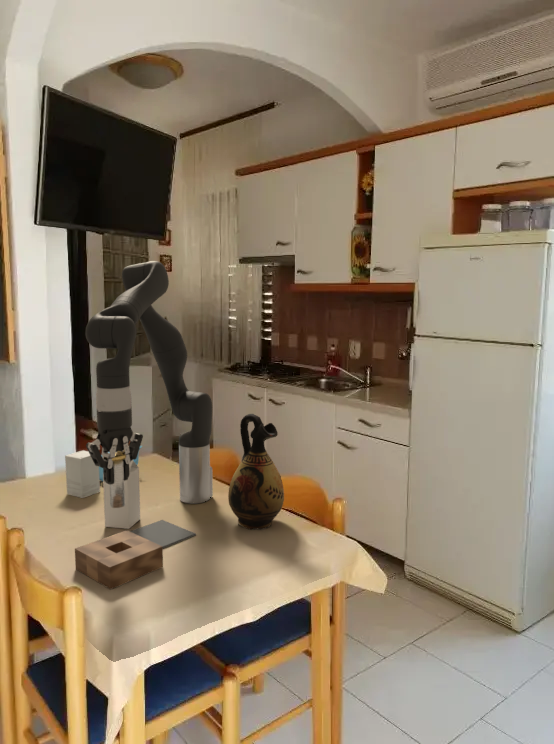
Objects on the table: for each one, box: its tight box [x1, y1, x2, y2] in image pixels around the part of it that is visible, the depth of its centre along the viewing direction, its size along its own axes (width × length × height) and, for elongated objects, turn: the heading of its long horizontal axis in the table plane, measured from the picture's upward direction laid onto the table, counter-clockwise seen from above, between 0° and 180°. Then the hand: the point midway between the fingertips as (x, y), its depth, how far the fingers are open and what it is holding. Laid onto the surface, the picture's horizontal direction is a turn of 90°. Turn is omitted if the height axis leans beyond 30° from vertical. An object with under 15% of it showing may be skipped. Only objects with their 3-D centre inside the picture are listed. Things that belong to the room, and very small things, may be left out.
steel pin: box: [106, 452, 126, 508], centre depth 135 cm, size 4×4×12 cm
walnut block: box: [74, 529, 164, 590], centre depth 137 cm, size 14×14×5 cm
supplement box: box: [64, 450, 101, 499], centre depth 187 cm, size 7×7×13 cm
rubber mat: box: [129, 519, 197, 549], centre depth 155 cm, size 14×14×1 cm
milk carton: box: [102, 460, 141, 530], centre depth 163 cm, size 7×7×19 cm
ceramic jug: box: [227, 413, 285, 531], centre depth 163 cm, size 17×15×30 cm
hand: (116, 481), depth 135 cm, fingers closed on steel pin, 3 cm apart
